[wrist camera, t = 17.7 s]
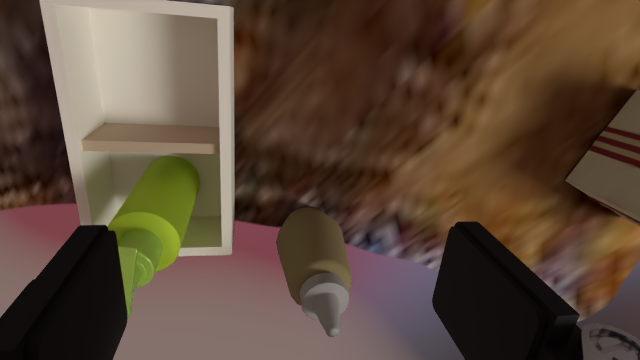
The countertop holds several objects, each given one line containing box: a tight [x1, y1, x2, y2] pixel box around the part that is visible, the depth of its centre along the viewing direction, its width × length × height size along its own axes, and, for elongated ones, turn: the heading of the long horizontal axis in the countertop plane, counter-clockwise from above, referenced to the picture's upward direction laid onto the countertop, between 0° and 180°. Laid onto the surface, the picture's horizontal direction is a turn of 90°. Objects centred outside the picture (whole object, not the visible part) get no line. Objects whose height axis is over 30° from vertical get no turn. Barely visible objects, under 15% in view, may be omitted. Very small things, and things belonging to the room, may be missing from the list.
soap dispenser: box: [108, 156, 200, 317], centre depth 33 cm, size 6×7×20 cm
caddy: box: [39, 0, 235, 256], centre depth 38 cm, size 24×14×8 cm, turn 175°
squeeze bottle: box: [276, 207, 352, 337], centre depth 41 cm, size 8×8×18 cm
